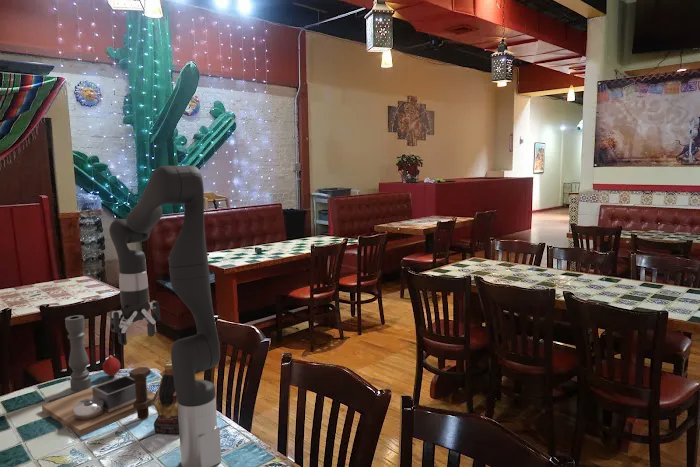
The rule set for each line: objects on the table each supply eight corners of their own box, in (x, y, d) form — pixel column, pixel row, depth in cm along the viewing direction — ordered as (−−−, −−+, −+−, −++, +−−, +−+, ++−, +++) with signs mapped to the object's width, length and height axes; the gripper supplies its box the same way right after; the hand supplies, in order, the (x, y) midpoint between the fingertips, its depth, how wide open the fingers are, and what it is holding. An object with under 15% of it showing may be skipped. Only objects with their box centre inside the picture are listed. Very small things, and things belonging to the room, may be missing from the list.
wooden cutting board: (160, 401, 156) (160, 395, 156) (80, 436, 136) (80, 429, 136) (119, 381, 171) (119, 376, 171) (42, 411, 151) (41, 405, 151)
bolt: (144, 423, 143) (141, 375, 141) (129, 421, 144) (125, 373, 142) (156, 413, 148) (153, 366, 146) (141, 411, 149) (138, 365, 147)
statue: (149, 434, 137) (144, 367, 134) (166, 420, 145) (161, 356, 142) (187, 438, 134) (182, 370, 132) (203, 424, 142) (198, 359, 139)
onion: (103, 374, 177) (102, 353, 176) (121, 371, 180) (119, 351, 178) (103, 380, 172) (101, 359, 171) (121, 377, 174) (119, 356, 173)
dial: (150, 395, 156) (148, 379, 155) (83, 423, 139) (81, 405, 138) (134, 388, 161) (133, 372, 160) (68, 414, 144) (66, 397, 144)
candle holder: (67, 389, 166) (59, 319, 162) (84, 382, 171) (77, 313, 168) (78, 393, 163) (71, 321, 159) (95, 385, 168) (88, 316, 165)
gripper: (116, 294, 132) (121, 350, 134) (163, 283, 143) (166, 335, 146) (102, 290, 136) (107, 344, 139) (149, 280, 148) (152, 330, 150)
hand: (137, 340), depth 142 cm, fingers open, 8 cm apart
